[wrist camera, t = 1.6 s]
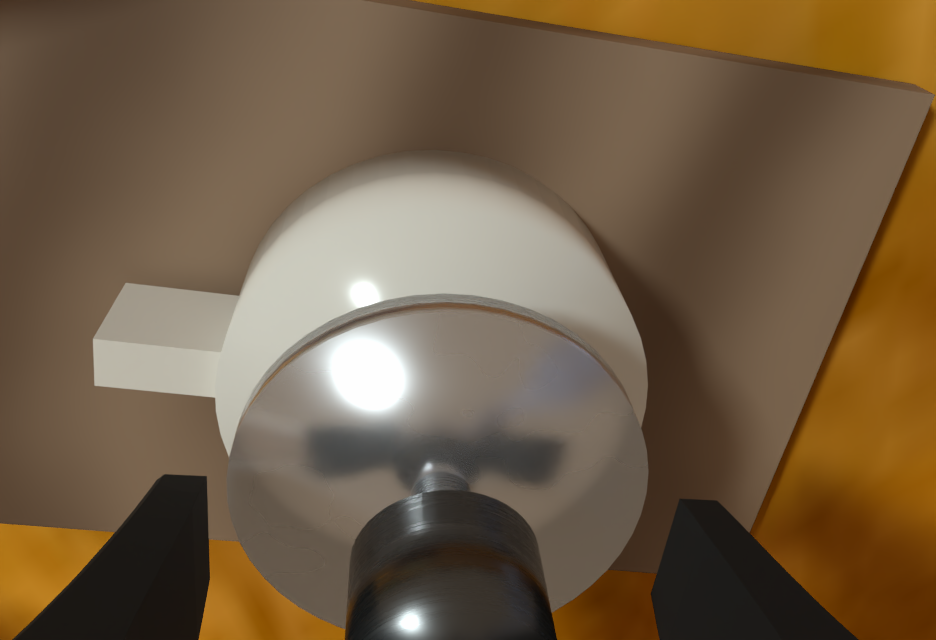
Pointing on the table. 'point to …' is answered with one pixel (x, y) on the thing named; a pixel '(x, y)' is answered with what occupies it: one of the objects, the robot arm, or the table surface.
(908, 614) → the table surface
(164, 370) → the white mug
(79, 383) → the board
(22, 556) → the table surface
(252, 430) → the pot lid
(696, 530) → the robot arm
